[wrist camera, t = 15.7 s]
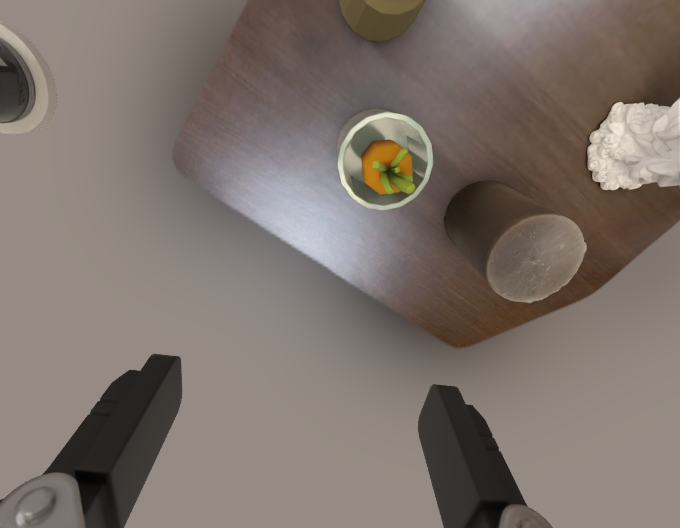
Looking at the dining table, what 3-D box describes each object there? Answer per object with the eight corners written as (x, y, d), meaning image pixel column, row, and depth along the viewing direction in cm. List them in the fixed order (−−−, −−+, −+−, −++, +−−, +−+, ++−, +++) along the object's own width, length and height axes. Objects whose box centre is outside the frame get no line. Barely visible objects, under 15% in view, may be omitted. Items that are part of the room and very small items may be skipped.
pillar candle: (435, 198, 45) (480, 243, 31) (509, 167, 43) (591, 200, 30) (454, 260, 49) (502, 323, 35) (523, 234, 47) (601, 289, 34)
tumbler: (331, 179, 43) (331, 202, 34) (343, 101, 39) (347, 103, 30) (400, 191, 44) (418, 216, 35) (419, 116, 40) (445, 122, 31)
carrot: (347, 144, 41) (355, 169, 27) (384, 122, 40) (412, 136, 26) (366, 181, 43) (382, 220, 29) (402, 161, 42) (436, 192, 28)
